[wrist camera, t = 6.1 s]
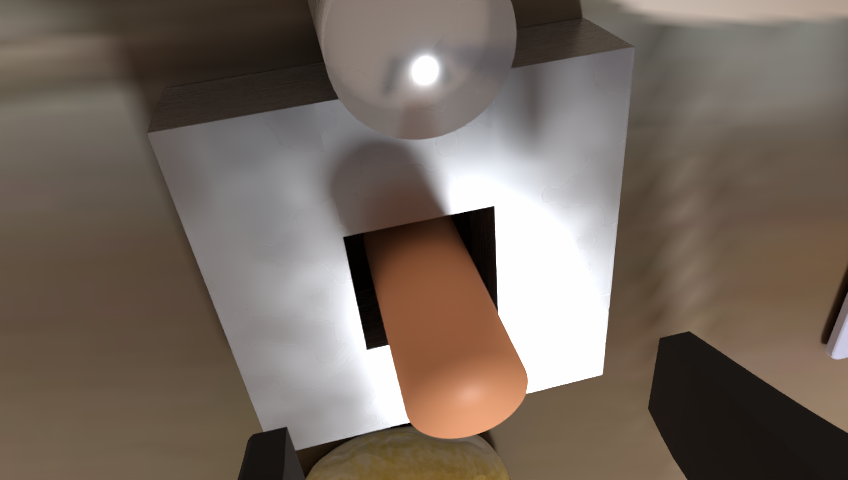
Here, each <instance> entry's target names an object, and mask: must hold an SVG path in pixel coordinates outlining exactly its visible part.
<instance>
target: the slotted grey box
mask: <svg viewBox="0 0 848 480" xmlns="http://www.w3.org/2000/svg"><path fill="white" fill-rule="evenodd" d="M307 1H308V5H309V8H310V12H311V15H312V19H313V23H314V26H315V30H316V33H317V37H318V40H319V44H320V48H321V51H322V55H323V58H324V62H319V63H313V64H307V65H302V66H296V67H290V68H284V69H278V70H272V71H266V72H260V73H254V74H248V75H242V76H236V77H231V78H225V79H219V80H213V81H207V82H201V83H195V84H189V85H183V86H177V87H171V88H165V89H164V90H163V92H162V95H161V98H160V100H159V103H158V105H157V108H156V111H155V113H154V116H153V118H152V121H151V123H150V126H149V129H148V131H147V135H148V138H149V140H150V143H151V145H152V148H153V151H154V153H155V156H156V158H157V161H158V163H159V166H160V168H161V171H162V174H163V176H164V179H165V181H166V184H167V186H168V189H169V191H170V194H171V197H172V199H173V202H174V204H175V207H176V209H177V212H178V214H179V217H180V219H181V222H182V225H183V227H184V230H185V232H186V235H187V237H188V240H189V242H190V245H191V248H192V250H193V253H194V255H195V258H196V260H197V263H198V265H199V268H200V271H201V273H202V276H203V278H204V281H205V283H206V286H207V288H208V291H209V294H210V296H211V299H212V301H213V304H214V306H215V309H216V311H217V314H218V316H219V319H220V322H221V324H222V327H223V329H224V332H225V334H226V337H227V339H228V342H229V345H230V347H231V350H232V352H233V355H234V357H235V360H236V362H237V365H238V368H239V370H240V373H241V375H242V378H243V380H244V383H245V385H246V388H247V391H248V393H249V396H250V398H251V401H252V403H253V406H254V408H255V411H256V413H257V416H258V419H259V421H260V424H261V426H262V429H263V431H264V432H266V431H270V430H274V429H278V428H283V427H287V428H288V431H289V434H290V437H291V440H292V442H293V445H294V448H295V451H296V450H300V449H304V448H308V447H312V446H316V445H320V444H324V443H328V442H332V441H336V440H340V439H344V438H348V437H352V436H356V435H360V434H364V433H368V432H372V431H376V430H380V429H384V428H388V427H392V426H396V425H401V424H405V423H409V422H410V421H409V419H408V418H407V415H406V411H405V407H404V403H403V399H402V395H401V391H400V387H399V383H398V379H397V375H396V371H395V367H394V363H393V359H392V355H391V351H390V347H389V343H388V339H387V335H386V331H385V327H384V323H383V319H382V315H381V311H380V307H379V303H378V299H377V295H376V291H375V287H374V288H369V289H364V290H360V291H355V290H354V286H353V281H352V276H351V271H350V267H349V262H348V257H347V253H346V248H345V243H344V239H343V237H345V236H350V235H354V234H359V233H364V232H369V231H374V230H379V229H384V228H388V227H393V226H398V225H403V224H408V223H413V222H418V221H422V220H427V219H432V218H437V217H442V216H447V215H452V214H456V213H461V212H466V211H469V221H470V236H471V251H472V261H473V263H474V265H475V267H476V269H477V271H478V273H479V275H480V277H481V279H482V281H483V283H484V285H485V287H486V289H487V291H488V293H489V295H490V297H491V299H492V301H493V303H494V305H495V307H496V309H497V312H498V314H499V316H500V318H501V320H502V322H503V324H504V326H505V328H506V330H507V332H508V334H509V336H510V338H511V340H512V342H513V344H514V346H515V348H516V350H517V352H518V354H519V356H520V358H521V360H522V362H523V364H524V366H525V368H526V371H527V374H528V388H527V392H526V393H530V392H534V391H538V390H542V389H546V388H550V387H554V386H558V385H562V384H566V383H570V382H574V381H578V380H582V379H586V378H590V377H594V376H598V375H602V373H603V363H604V353H605V343H606V333H607V323H608V313H609V303H610V293H611V283H612V273H613V263H614V253H615V243H616V233H617V223H618V213H619V203H620V193H621V183H622V173H623V163H624V153H625V143H626V133H627V123H628V113H629V103H630V93H631V83H632V73H633V63H634V53H635V46H633V45H631V44H630V43H628V42H626V41H624V40H622V39H621V38H619V37H617V36H615V35H614V34H612V33H610V32H608V31H606V30H605V29H603V28H601V27H599V26H598V25H596V24H594V23H592V22H590V21H589V20H587V19H585V18H580V19H574V20H568V21H562V22H556V23H550V24H544V25H538V26H532V27H526V28H520V29H516V19H515V14H514V9H513V6H512V3H511V0H307Z"/></svg>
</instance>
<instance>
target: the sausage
mask: <svg viewBox="0 0 848 480" xmlns="http://www.w3.org/2000/svg"><path fill="white" fill-rule="evenodd" d="M363 241H364V248H365V252H366V256H367V260H368V264H369V268H370V272H371V276H372V279H373V283H374V287H375V291H376V295H377V299H378V303H379V307H380V311H381V315H382V319H383V323H384V327H385V331H386V335H387V339H388V343H389V347H390V351H391V355H392V359H393V363H394V367H395V371H396V375H397V379H398V383H399V387H400V391H401V395H402V399H403V403H404V407H405V411H406V415H407V418H408V419H409V421H410V423H411V424H412V425H413V426H414V427H415V428H416V429H417V430H419V431H420V432H422V433H424V434H426V435H429V436H433V437H437V438H446V439H453V438H463V437H468V436H472V435H476V434H479V433H482V432H484V431H487V430H489V429H491V428H493V427H495V426H496V425H498V424H500V423H501V422H502V421H504V420H505V419H507V418H508V417H509V416H510V415H511V414H512V413H513V412H514V411H515V410H516V409H517V408H518V406H519V405H520V404H521V402H522V401H523V399H524V397H525V395H526V392H527V388H528V374H527V371H526V368H525V366H524V364H523V362H522V360H521V358H520V356H519V354H518V352H517V350H516V348H515V346H514V344H513V342H512V340H511V338H510V336H509V334H508V332H507V330H506V328H505V326H504V324H503V322H502V320H501V318H500V316H499V314H498V312H497V309H496V307H495V305H494V303H493V301H492V299H491V297H490V295H489V293H488V291H487V289H486V287H485V285H484V283H483V281H482V279H481V277H480V275H479V273H478V271H477V269H476V267H475V265H474V263H473V261H472V259H471V257H470V255H469V253H468V251H467V249H466V247H465V245H464V242H463V240H462V238H461V236H460V234H459V232H458V230H457V228H456V226H455V224H454V222H453V220H452V218H451V216H450V215H447V216H442V217H437V218H432V219H427V220H422V221H418V222H413V223H408V224H403V225H398V226H393V227H388V228H384V229H379V230H374V231H369V232H364V239H363Z"/></svg>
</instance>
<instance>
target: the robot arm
mask: <svg viewBox="0 0 848 480" xmlns="http://www.w3.org/2000/svg"><path fill="white" fill-rule="evenodd" d="M826 352H827V354H828V355H830V356H831V357H832V358H833V359H842V358H846V357H848V292H847V295H846V298H845V300H844V303H843V305H842V308H841V310H840V313H839V316H838V318H837V321H836V323H835V326H834V328H833V331H832V333H831V336H830V339H829V341H828V344H827V346H826ZM648 409H649V411H650V414H651V416H652V418H653V420H654V422H655V424H656V426H657V428H658V430H659V432H660V434H661V436H662V438H663V440H664V441H665V443H666V445H667V447H668V449H669V451H670V453H671V455H672V457H673V458H674V460H675V461H676V463H677V464H678V466H679V467H680V469H681V471H682V472H683V474H684V475H685V477H686V478H687V480H848V433H847V432H845V431H843V430H841V429H840V428H838V427H836V426H835V425H833V424H831V423H830V422H828V421H826V420H825V419H823V418H821V417H820V416H818V415H816V414H815V413H813V412H811V411H810V410H808V409H807V408H805V407H803V406H802V405H800V404H799V403H797V402H795V401H794V400H792V399H791V398H789V397H788V396H786V395H785V394H783V393H781V392H780V391H778V390H777V389H775V388H774V387H772V386H771V385H769V384H768V383H766V382H764V381H763V380H761V379H760V378H758V377H757V376H755V375H754V374H752V373H751V372H749V371H748V370H746V369H745V368H743V367H742V366H740V365H739V364H737V363H736V362H734V361H733V360H732V359H730V358H729V357H727V356H726V355H724V354H723V353H721V352H720V351H718V350H717V349H715V348H714V347H712V346H711V345H709V344H708V343H706V342H705V341H703V340H702V339H700V338H699V337H697V336H696V335H694V334H692V333H691V332H689V331H688V332H684V333H680V334H676V335H671V336H667V337H663V338H660V340H659V346H658V352H657V358H656V364H655V370H654V376H653V382H652V388H651V394H650V400H649V406H648ZM238 480H306V479H305V476H304V473H303V471H302V468H301V465H300V462H299V459H298V457H297V454H296V451H295V448H294V445H293V442H292V440H291V437H290V434H289V431H288V428H287V427H283V428H278V429H274V430H270V431H266V432H261V433H257V434H253V435H252V436H251V437H250V438H249V440H248V443H247V447H246V451H245V455H244V459H243V462H242V466H241V470H240V473H239V477H238Z"/></svg>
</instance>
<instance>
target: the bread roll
mask: <svg viewBox="0 0 848 480" xmlns="http://www.w3.org/2000/svg"><path fill="white" fill-rule="evenodd" d="M306 480H510V478H509V475H508V473H507V470H506V468H505V466H504V464H503V462H502V460H501V458H500V457H499V456H498V454H497V453H496V452H495V451H494V449H493V448H492V447H491V446H490V445H489V444H488V443H487V442H486V441H485V440H484V439H483V438H481V437H480V436H478V435H472V436H468V437H463V438H453V439H446V438H437V437H433V436H429V435H426V434H424V433H422V432H420V431H419V430H417V429H416V428H415V427H414V426H407V427H397V428H390V429H384V430H379V431H374V432H369V433H365V434H363V435H361V436H358V437H356V438H354V439H351V440H349V441H347V442H345V443H343V444H342V445H340V446H338V447H337V448H335V449H333V450H332V451H331V452H329V453H328V454H327V455H326V456H324V457H323V458H322V459H321V460H319V461H318V462H317V463H316V464H315V465H314V466H313V468H312V470H311V471H310V473H309V474H308V476H307V477H306Z"/></svg>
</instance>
